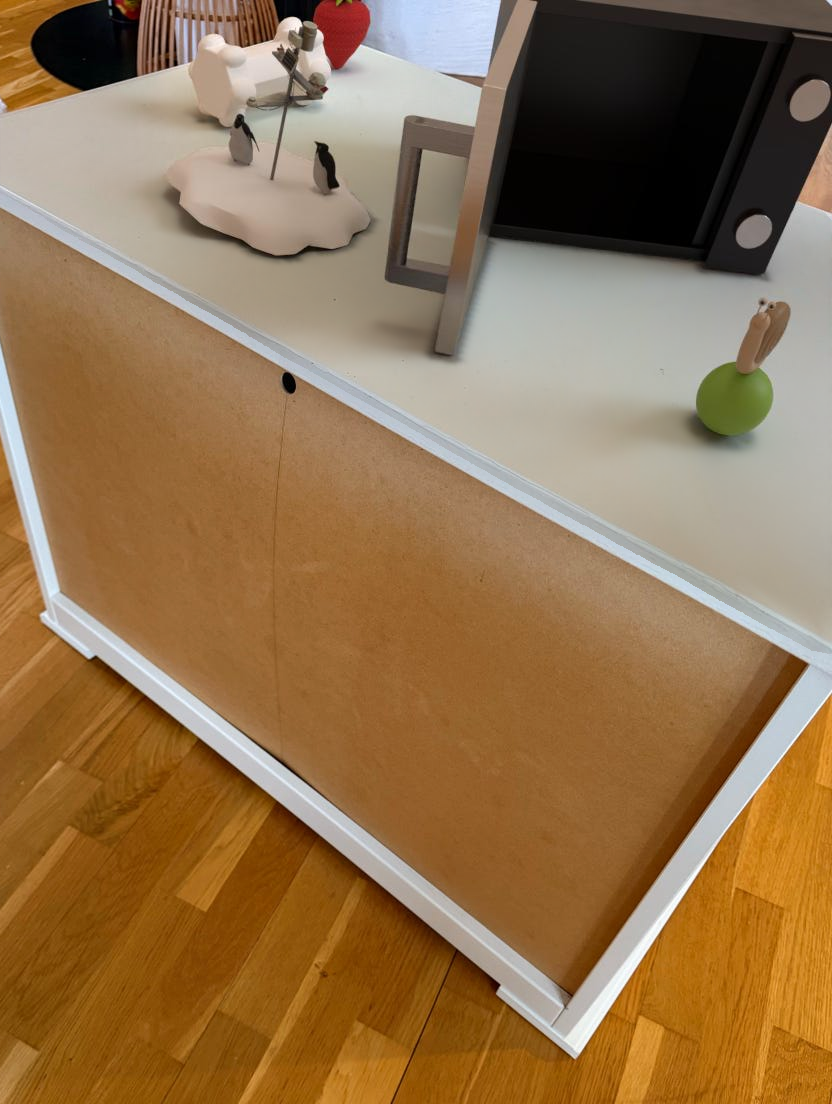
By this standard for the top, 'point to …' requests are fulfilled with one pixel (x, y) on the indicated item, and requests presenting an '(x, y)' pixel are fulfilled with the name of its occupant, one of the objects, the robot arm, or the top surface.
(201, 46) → the bone shaped toy
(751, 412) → the snail figurine
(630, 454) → the top surface
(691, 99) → the microwave
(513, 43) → the microwave door
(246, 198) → the figurine
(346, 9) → the strawberry
